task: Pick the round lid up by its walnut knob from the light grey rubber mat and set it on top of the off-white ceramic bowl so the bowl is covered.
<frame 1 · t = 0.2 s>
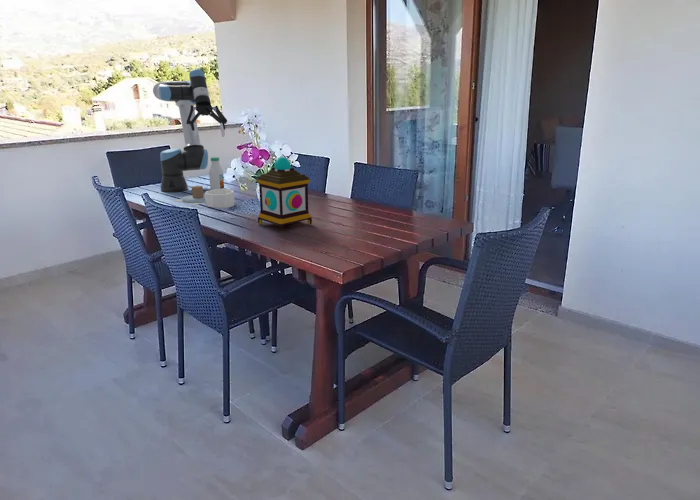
hand: (210, 135, 253), 35 cm above the table, tool tilted 35°, fingers open, 13 cm apart
mat: (198, 200, 270), on the table
milk bottle: (217, 193, 289), on the table
lid: (198, 199, 270), point 1 cm above the table, touching mat
decorative lantern: (285, 225, 225), on the table
bowl: (220, 205, 260), on the table
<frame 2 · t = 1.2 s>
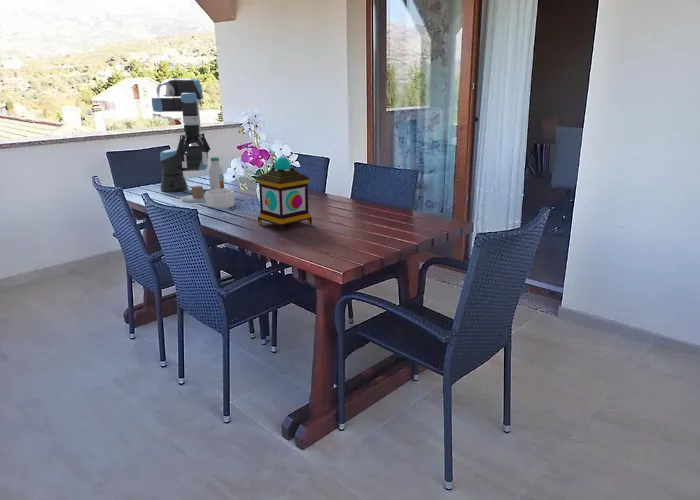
hand: (195, 166, 264), 18 cm above the table, tool pointing down, fingers open, 13 cm apart
nothing on the table moved.
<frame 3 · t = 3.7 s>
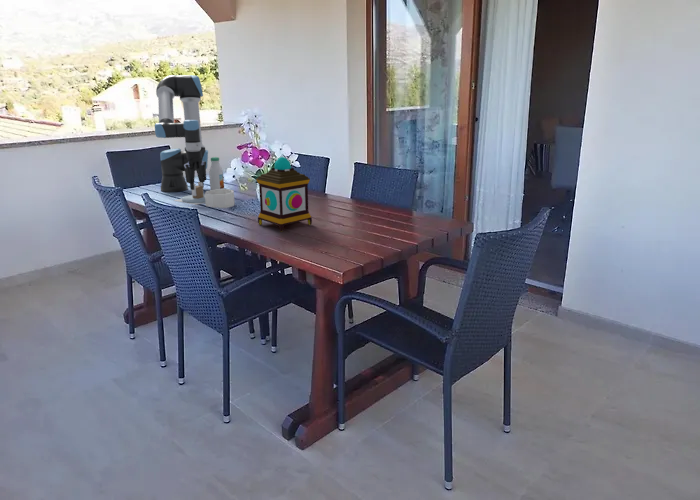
hand: (197, 194, 269), 3 cm above the table, tool pointing down, fingers closed on lid, 4 cm apart
lid: (198, 199, 270), point 1 cm above the table, touching gripper, mat
everything else where it was.
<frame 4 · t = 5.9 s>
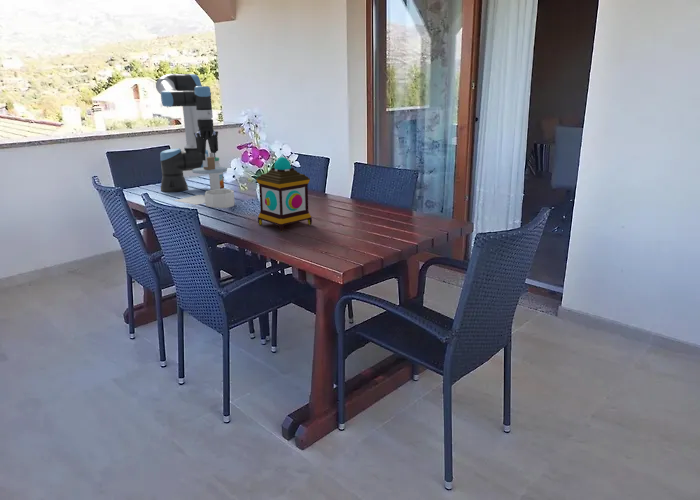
hand: (209, 166, 256), 20 cm above the table, tool pointing down, fingers closed on lid, 4 cm apart
lid: (209, 171, 257), point 17 cm above the table, touching gripper
everything else where it was.
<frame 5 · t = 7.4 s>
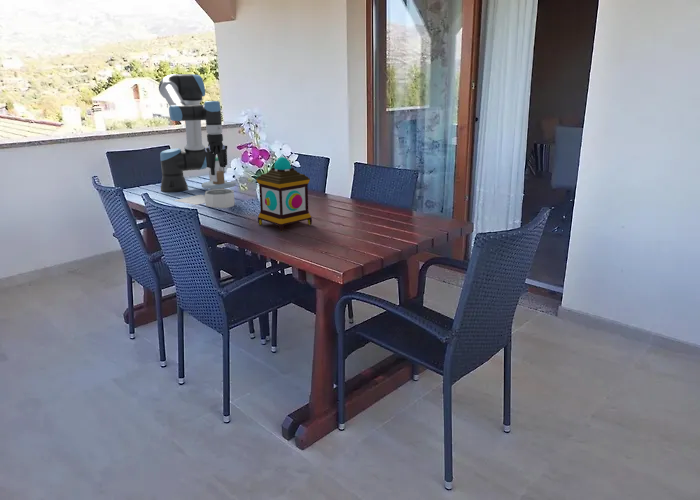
hand: (218, 180, 255), 13 cm above the table, tool pointing down, fingers closed on lid, 4 cm apart
lid: (218, 185, 256), point 10 cm above the table, touching gripper
everything else where it was.
when the fingers open (11 cm above the table, at t = 8.3 s): lid drops 2 cm, resting on bowl.
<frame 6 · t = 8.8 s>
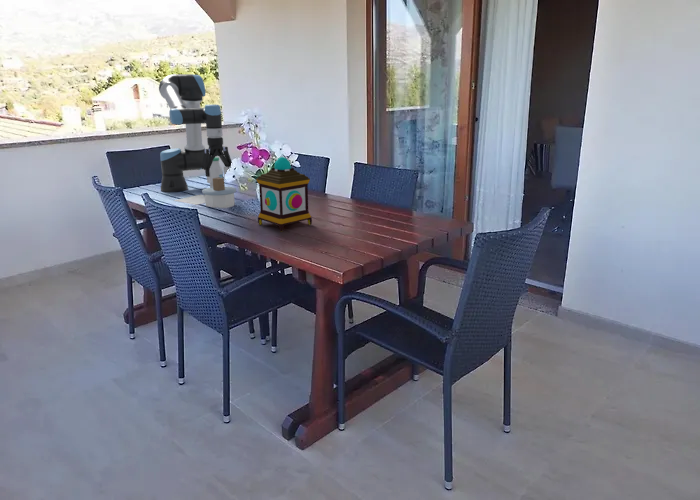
hand: (218, 181, 256), 12 cm above the table, tool pointing down, fingers open, 11 cm apart
lid: (219, 191, 257), point 7 cm above the table, touching bowl
everything else where it was.
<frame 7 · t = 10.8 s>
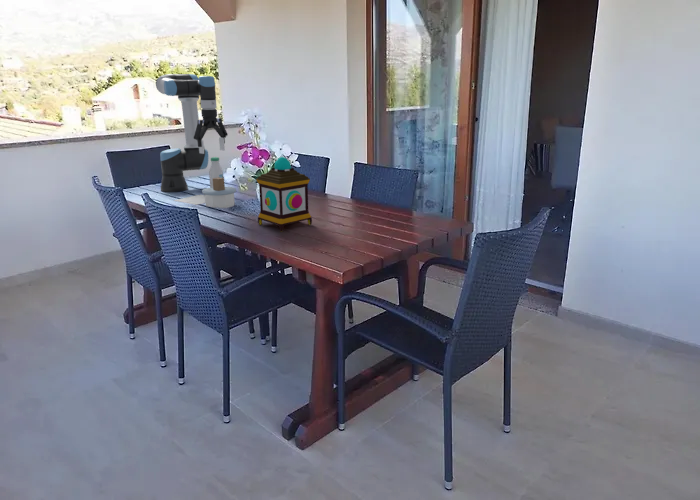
hand: (212, 151, 258), 26 cm above the table, tool pointing down, fingers open, 13 cm apart
nothing on the table moved.
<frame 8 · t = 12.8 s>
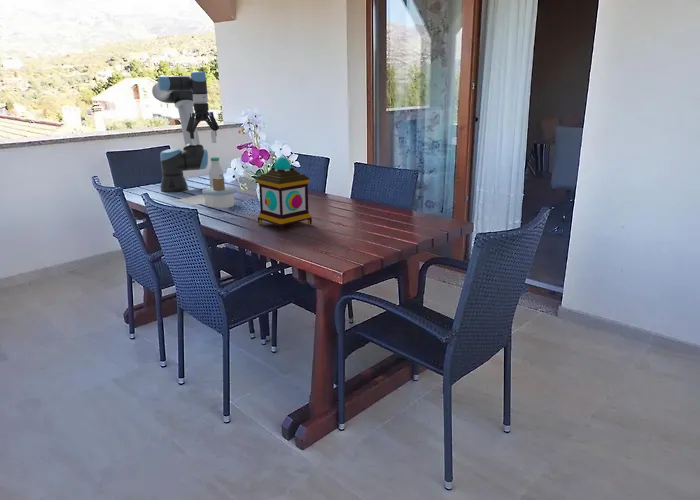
hand: (204, 144, 270), 29 cm above the table, tool pointing down, fingers open, 13 cm apart
nothing on the table moved.
at the end: lid 0.0 cm off-centre on the bowl, point 7.0 cm above the bowl's base; lid tilted 0°; the gripper is holding nothing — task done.
